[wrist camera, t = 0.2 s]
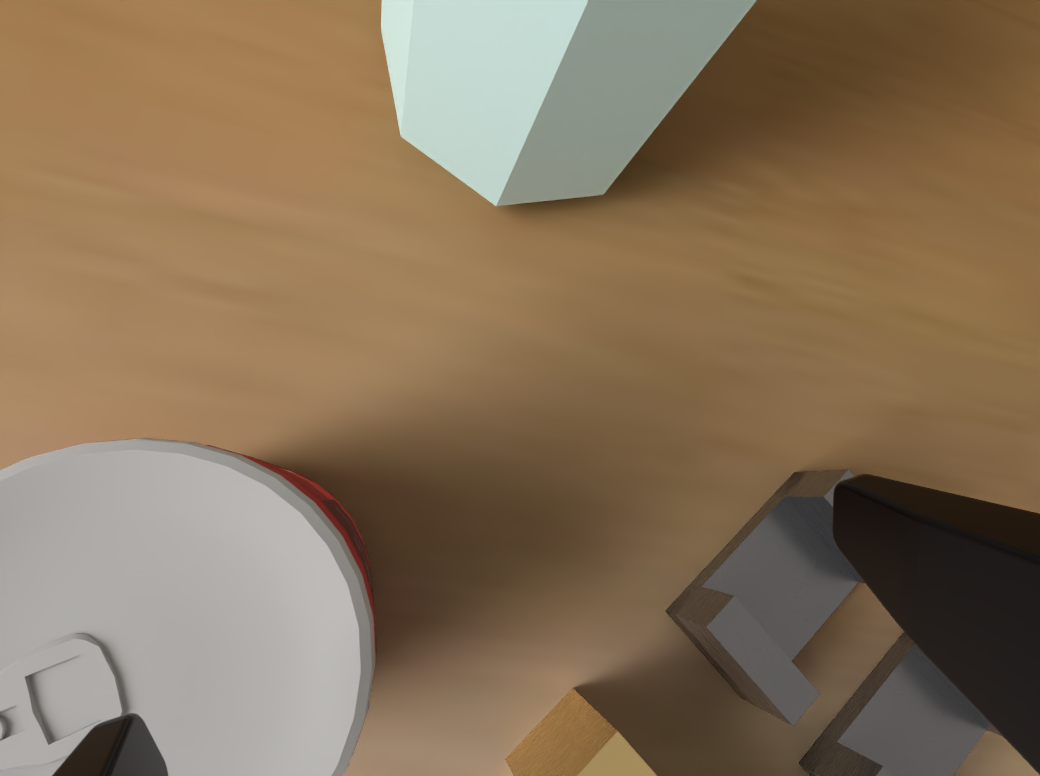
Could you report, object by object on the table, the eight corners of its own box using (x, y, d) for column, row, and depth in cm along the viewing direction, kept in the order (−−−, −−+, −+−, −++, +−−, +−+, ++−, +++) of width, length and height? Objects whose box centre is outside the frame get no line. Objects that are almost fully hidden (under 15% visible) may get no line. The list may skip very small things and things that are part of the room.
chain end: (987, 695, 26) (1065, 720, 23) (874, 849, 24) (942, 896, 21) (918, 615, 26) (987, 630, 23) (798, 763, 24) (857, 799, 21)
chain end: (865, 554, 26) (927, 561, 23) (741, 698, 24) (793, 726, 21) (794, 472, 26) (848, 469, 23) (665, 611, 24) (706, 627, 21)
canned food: (34, 576, 20) (-331, 666, 10) (274, 411, 22) (191, 336, 12) (196, 789, 20) (11, 1110, 10) (420, 605, 22) (469, 705, 12)
